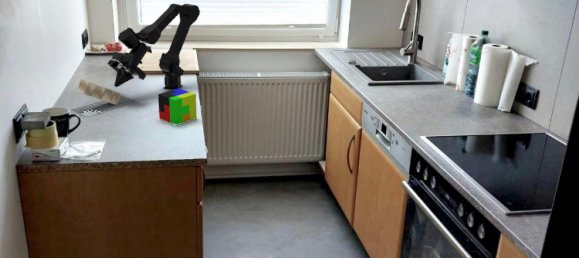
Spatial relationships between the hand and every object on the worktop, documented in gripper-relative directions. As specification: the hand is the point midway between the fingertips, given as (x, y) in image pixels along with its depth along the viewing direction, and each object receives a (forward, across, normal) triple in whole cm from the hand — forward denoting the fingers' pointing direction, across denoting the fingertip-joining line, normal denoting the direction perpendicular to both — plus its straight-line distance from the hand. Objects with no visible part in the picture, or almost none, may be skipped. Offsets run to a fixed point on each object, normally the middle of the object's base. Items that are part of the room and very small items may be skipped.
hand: (115, 86), depth 216 cm
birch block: (+4, 0, +3) cm, 5 cm away
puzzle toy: (+1, +31, +9) cm, 32 cm away
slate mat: (+9, 0, +2) cm, 9 cm away
